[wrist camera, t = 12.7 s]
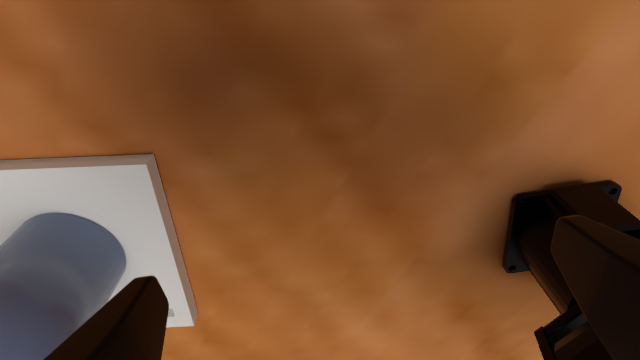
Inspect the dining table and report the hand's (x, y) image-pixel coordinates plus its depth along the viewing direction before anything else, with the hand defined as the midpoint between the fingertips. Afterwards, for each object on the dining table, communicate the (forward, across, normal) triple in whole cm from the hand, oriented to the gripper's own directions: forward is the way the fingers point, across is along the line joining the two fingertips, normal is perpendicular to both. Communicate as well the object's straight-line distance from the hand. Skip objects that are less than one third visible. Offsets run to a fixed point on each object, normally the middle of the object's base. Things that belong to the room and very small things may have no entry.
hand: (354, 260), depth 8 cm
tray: (+13, +17, +8) cm, 23 cm away
